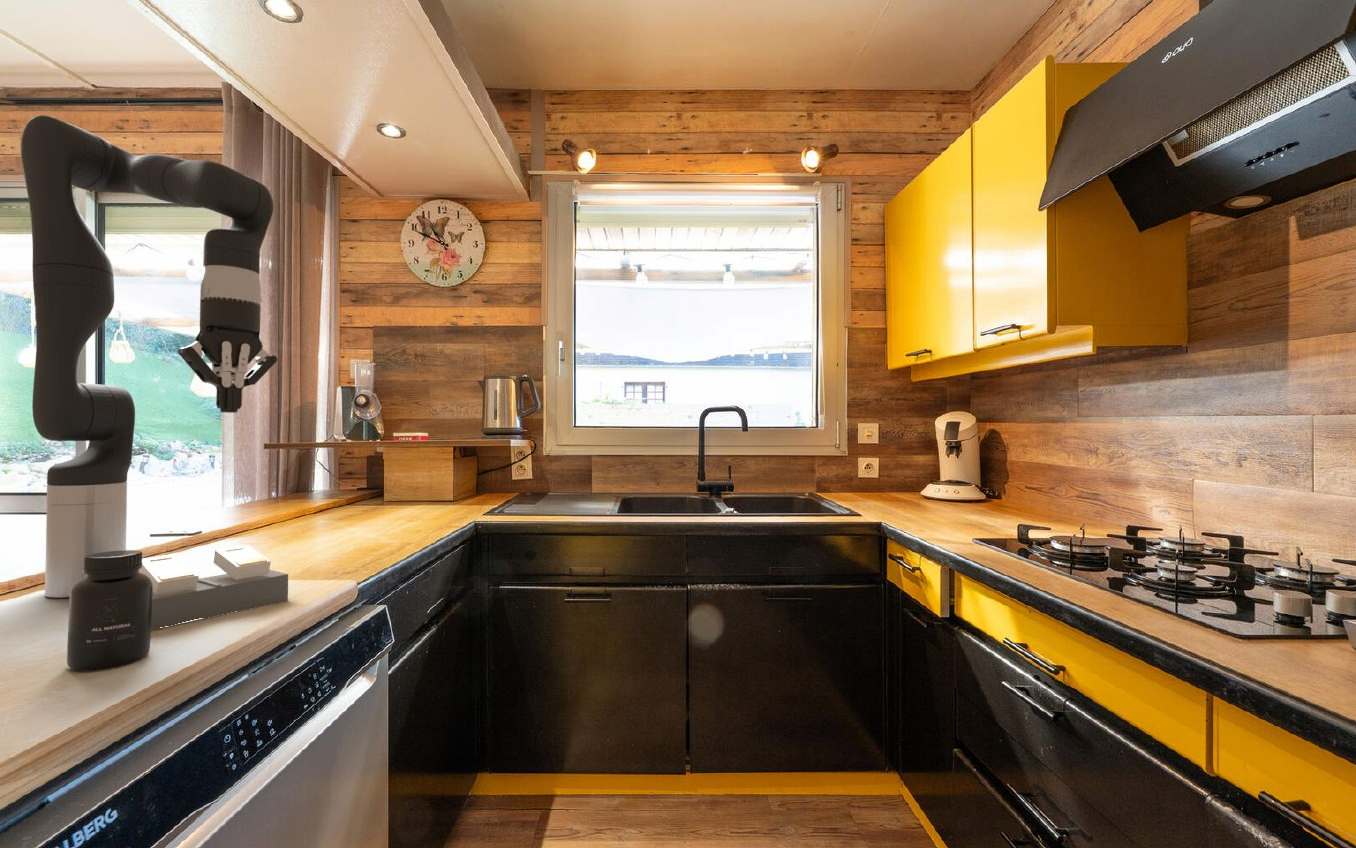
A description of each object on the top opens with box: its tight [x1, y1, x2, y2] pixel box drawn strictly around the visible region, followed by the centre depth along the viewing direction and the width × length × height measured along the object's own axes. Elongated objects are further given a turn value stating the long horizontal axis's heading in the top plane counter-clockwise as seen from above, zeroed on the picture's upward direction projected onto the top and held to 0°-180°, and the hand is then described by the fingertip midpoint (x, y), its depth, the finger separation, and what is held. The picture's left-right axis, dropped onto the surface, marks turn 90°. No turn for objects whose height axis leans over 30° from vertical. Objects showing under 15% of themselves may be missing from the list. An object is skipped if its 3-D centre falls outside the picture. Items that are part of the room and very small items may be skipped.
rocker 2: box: [213, 544, 271, 580], centre depth 90 cm, size 7×4×2 cm, turn 59°
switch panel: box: [151, 569, 289, 631], centre depth 86 cm, size 8×18×4 cm, turn 149°
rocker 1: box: [140, 553, 200, 596], centre depth 82 cm, size 7×4×2 cm, turn 59°
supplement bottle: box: [66, 549, 153, 672], centre depth 68 cm, size 7×7×12 cm
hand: (228, 412), depth 93 cm, fingers closed
